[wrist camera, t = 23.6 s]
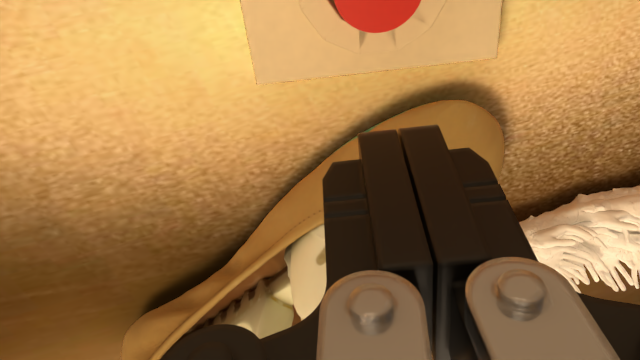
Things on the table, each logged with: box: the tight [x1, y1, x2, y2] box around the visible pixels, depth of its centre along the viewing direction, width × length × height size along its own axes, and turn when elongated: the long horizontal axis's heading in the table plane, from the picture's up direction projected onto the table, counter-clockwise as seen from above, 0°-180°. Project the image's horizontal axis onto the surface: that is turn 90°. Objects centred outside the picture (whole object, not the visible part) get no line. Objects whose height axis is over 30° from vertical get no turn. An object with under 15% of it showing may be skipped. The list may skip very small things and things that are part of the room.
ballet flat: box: [120, 100, 505, 360], centre depth 32 cm, size 11×31×10 cm, turn 136°
